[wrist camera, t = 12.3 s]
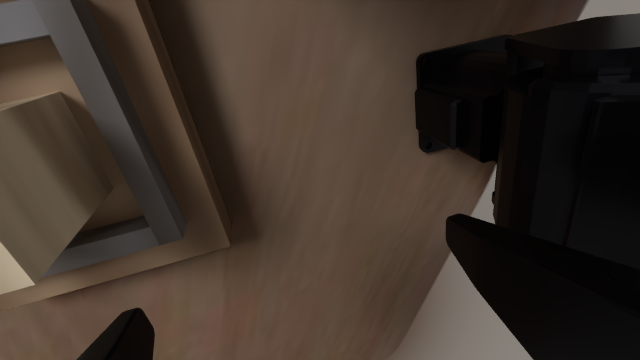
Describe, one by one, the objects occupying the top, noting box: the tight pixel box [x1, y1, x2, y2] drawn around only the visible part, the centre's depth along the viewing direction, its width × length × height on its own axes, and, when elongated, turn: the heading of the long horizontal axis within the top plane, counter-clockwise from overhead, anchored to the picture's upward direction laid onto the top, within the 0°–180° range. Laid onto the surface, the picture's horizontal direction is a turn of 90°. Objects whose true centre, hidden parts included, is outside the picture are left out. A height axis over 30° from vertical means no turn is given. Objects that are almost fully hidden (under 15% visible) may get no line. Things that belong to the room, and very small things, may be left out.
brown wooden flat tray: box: [0, 0, 232, 311], centre depth 15 cm, size 14×16×4 cm
